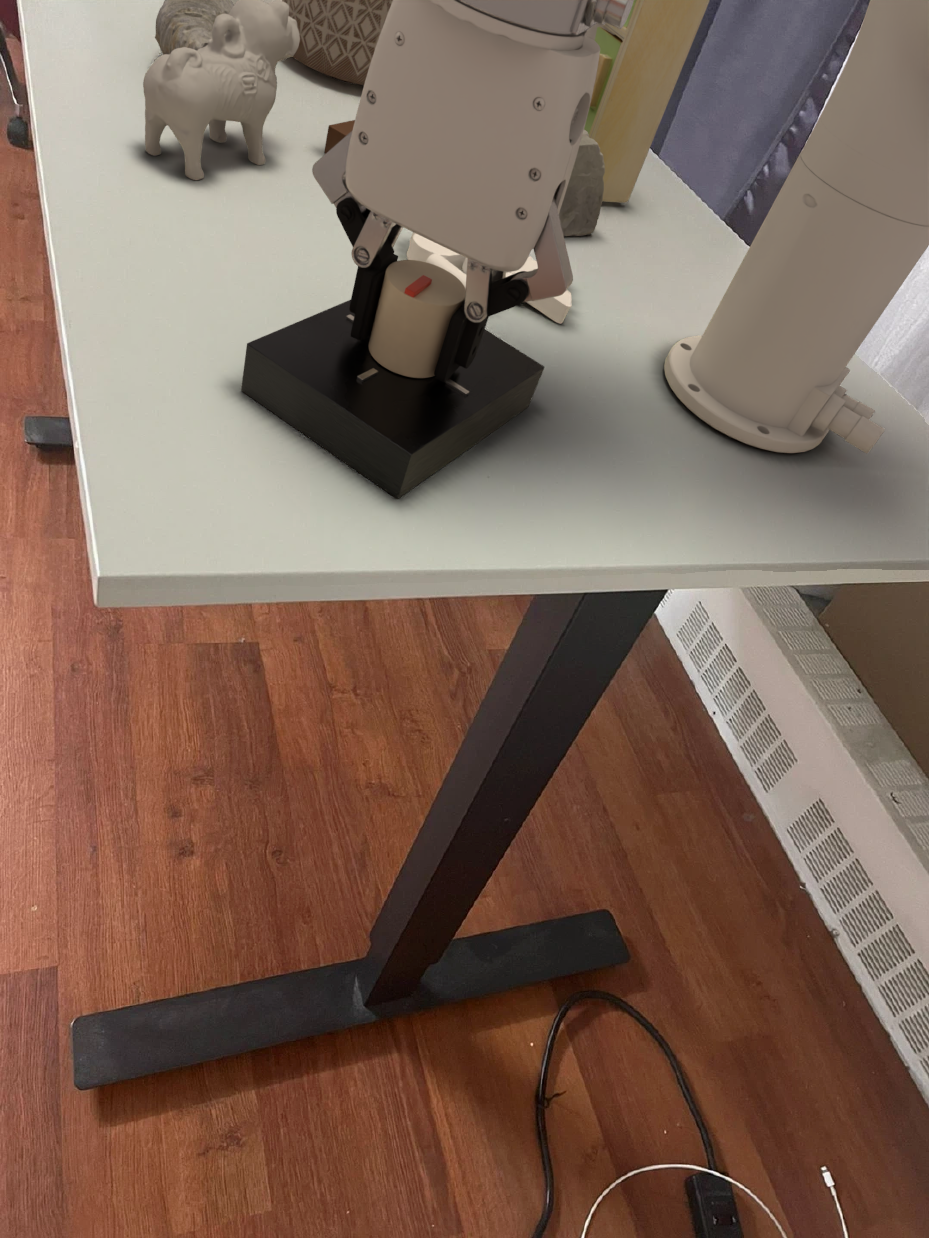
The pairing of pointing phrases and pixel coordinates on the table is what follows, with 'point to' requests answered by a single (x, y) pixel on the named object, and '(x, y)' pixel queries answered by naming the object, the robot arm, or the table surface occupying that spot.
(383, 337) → the knob
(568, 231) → the mineral specimen
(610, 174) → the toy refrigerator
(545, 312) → the white abstract figurine
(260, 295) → the table surface
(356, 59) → the planter
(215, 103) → the dog figurine
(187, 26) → the seashell
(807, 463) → the table surface
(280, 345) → the panel
